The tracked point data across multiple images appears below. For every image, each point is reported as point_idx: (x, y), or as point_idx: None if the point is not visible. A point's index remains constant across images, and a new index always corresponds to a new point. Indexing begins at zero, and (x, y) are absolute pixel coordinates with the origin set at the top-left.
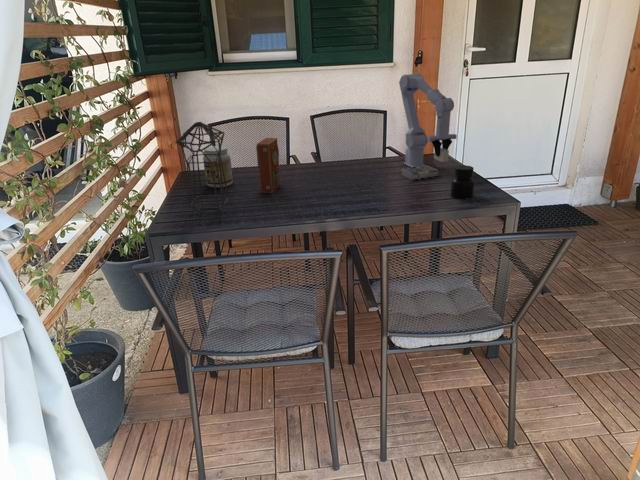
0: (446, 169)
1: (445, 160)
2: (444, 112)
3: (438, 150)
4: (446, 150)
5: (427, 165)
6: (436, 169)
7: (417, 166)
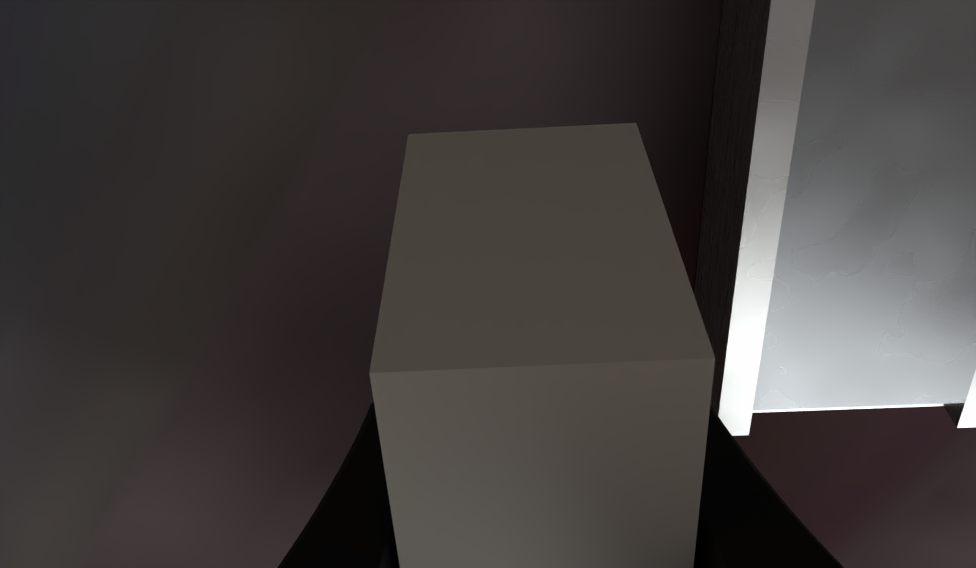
0: (246, 325)
1: (514, 141)
2: None
3: (803, 529)
4: (482, 409)
5: (721, 413)
6: (776, 44)
7: (964, 422)
